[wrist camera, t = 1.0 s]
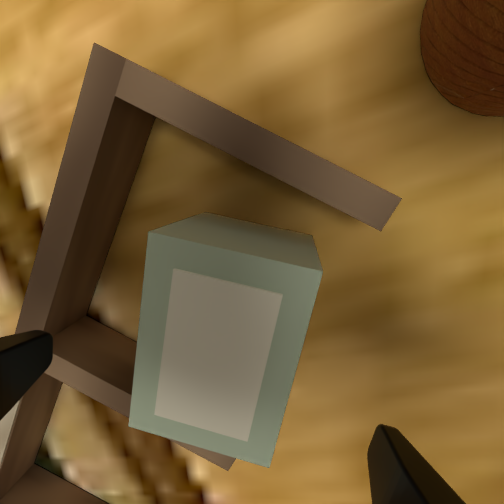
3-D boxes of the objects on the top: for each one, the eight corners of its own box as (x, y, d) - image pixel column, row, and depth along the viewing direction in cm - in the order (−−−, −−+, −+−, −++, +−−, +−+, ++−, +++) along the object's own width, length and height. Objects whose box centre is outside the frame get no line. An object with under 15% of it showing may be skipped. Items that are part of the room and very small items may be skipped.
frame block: (311, 235, 13) (323, 272, 8) (278, 366, 15) (269, 471, 10) (205, 211, 14) (146, 232, 8) (185, 342, 15) (126, 428, 10)
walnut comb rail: (376, 194, 12) (403, 198, 9) (161, 547, 19) (137, 614, 16) (140, 74, 12) (91, 40, 9) (14, 466, 19) (-37, 518, 16)
